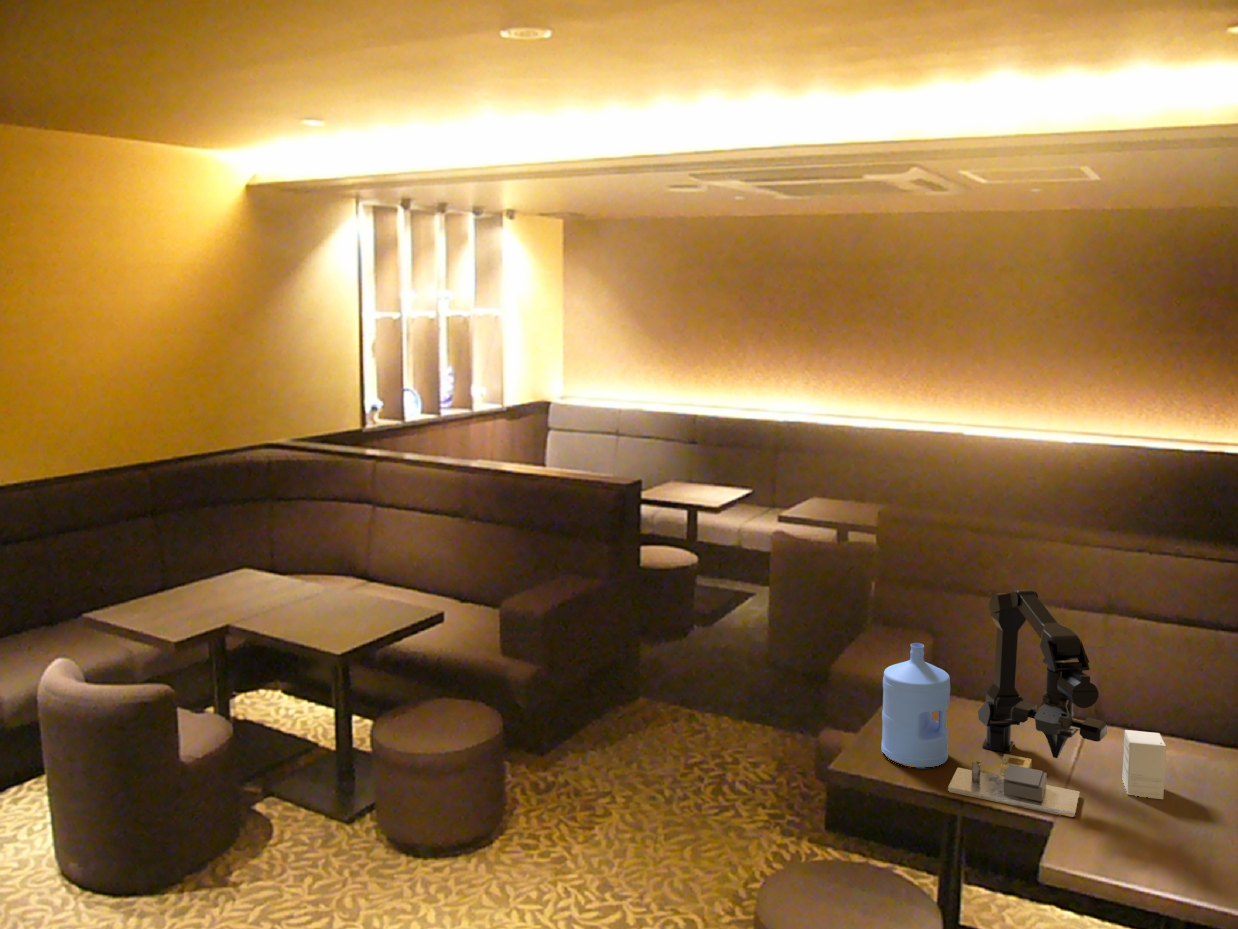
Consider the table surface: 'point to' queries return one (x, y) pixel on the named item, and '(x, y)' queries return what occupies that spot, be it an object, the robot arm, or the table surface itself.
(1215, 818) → the table surface
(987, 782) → the pin plate
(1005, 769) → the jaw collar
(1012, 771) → the box
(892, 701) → the water jug
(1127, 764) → the supplement box
